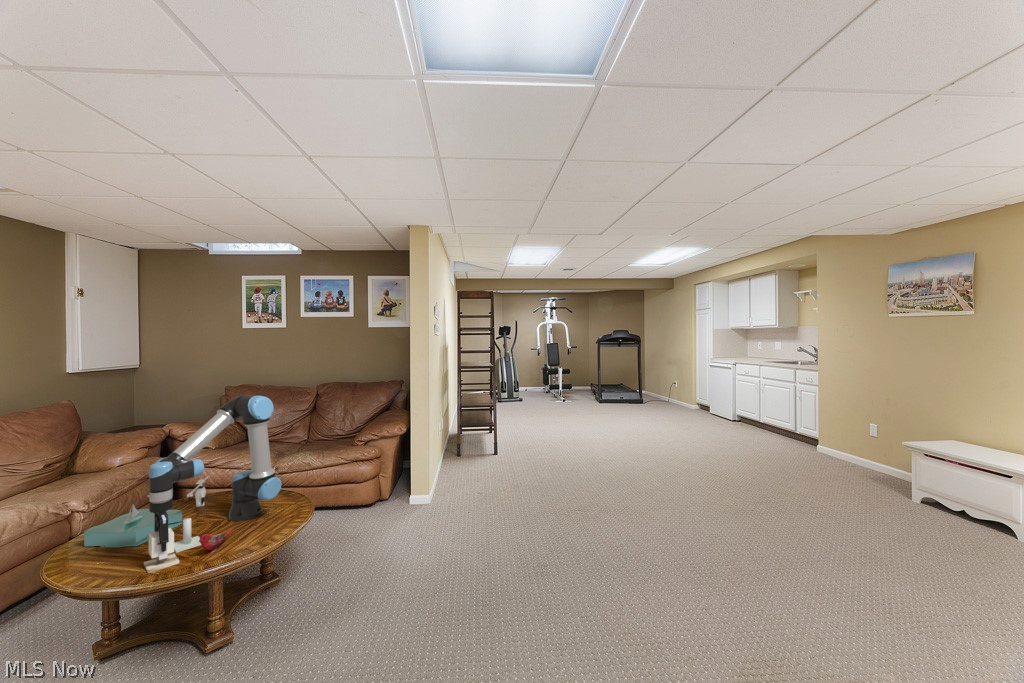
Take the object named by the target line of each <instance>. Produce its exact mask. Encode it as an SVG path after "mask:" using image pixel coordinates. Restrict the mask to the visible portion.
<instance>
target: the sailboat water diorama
mask: <svg viewBox="0 0 1024 683" xmlns="http://www.w3.org/2000/svg"><path fill="white" fill-rule="evenodd" d="M166 512H167V514H168V518H169V520H168V528H171V529H172V530H173V529H174V528H176V527H179V526H181V525H183V510H181V509H169V510H167V511H166ZM154 522H155V518H154V513H151V512H150V511H149V508H139V509H137V508H136V507H135V505H134V504H132V506H131V507H130V509H129V511H128V513H124V514H122V515H119V516H118V517H115V518H113V519H111V520H108V521H106V522H104V523H102V524H99V525H95V526H92V527H90V528H88V529H85V530H84V532H83V541H84V542H83V543H84V544H83V545H84V546H85V547H94V546H105V547H104V548H125V547H138V546H140V545H142V544H145V543H146V542H149V533H153V532H154ZM180 524H181V525H180ZM178 525H179V526H178Z"/></svg>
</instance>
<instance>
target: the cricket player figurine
mask: <svg viewBox="0 0 1024 683" xmlns="http://www.w3.org/2000/svg"><path fill="white" fill-rule="evenodd" d="M209 477H210V476H209V475H207V476H206V477H204V479H202V478H200V479H199V480H197V481H196V482H195V485H197V486H196V487H194V489H193V490H191V491H190V492H189V493H187V494H186V498H190V497H191V498H195V506H196V508H199V507H205V500H206V499H205V497H206V495H207V489H206V487H205V486H203V484H204V483H206V480H207V479H209ZM195 491H196V492H195ZM194 492H195V494H194Z"/></svg>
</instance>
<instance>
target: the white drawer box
mask: <svg viewBox="0 0 1024 683" xmlns="http://www.w3.org/2000/svg"><path fill="white" fill-rule="evenodd" d="M168 536H169V542H168V555H169V554H172V553H175V550H174V543H175V532H174V531H173V528H172V529H171V528H168ZM159 542H160V541H159V529H158V531H157V532H153V533H149V541H148V554H149V556H150V558H151V559H156V558H157V557H159V545H157V544H158V543H159Z"/></svg>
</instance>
